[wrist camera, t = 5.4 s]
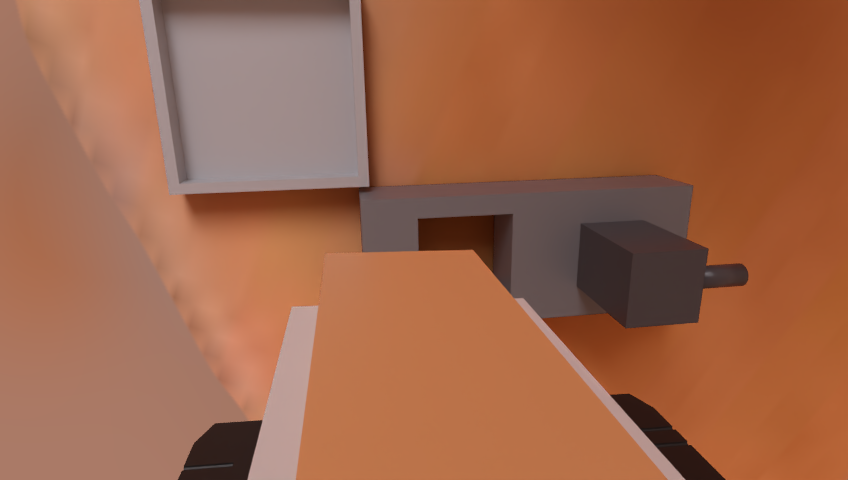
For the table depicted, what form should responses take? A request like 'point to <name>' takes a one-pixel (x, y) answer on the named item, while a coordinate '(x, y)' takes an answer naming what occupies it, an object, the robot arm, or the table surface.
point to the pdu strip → (570, 242)
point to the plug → (446, 382)
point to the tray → (258, 93)
